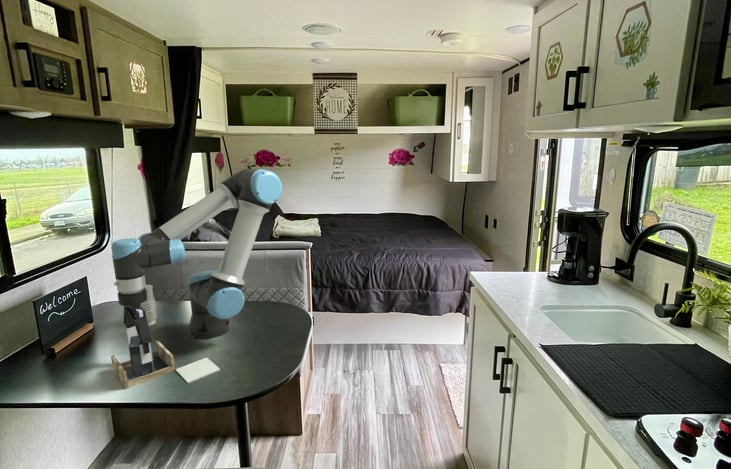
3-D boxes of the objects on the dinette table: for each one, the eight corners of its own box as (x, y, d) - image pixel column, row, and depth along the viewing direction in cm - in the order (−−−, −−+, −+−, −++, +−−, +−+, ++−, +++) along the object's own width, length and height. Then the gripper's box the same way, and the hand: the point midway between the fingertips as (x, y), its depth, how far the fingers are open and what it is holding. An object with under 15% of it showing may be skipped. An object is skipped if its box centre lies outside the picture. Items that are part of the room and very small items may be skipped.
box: (153, 374, 124) (149, 343, 122) (133, 378, 122) (128, 347, 120) (154, 362, 131) (150, 332, 129) (134, 366, 129) (130, 336, 127)
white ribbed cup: (161, 321, 161) (156, 286, 158) (144, 328, 156) (139, 292, 152) (151, 317, 165) (147, 283, 162) (134, 324, 159) (129, 288, 156)
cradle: (113, 370, 127) (110, 355, 126) (160, 353, 136) (158, 340, 135) (125, 388, 117) (123, 373, 116) (175, 369, 126) (173, 355, 125)
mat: (175, 370, 126) (175, 369, 126) (206, 358, 133) (206, 357, 133) (187, 383, 119) (187, 382, 119) (220, 370, 126) (220, 369, 126)
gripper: (107, 282, 127) (116, 344, 131) (129, 304, 109) (139, 374, 114) (133, 277, 132) (141, 336, 136) (159, 297, 114) (166, 364, 119)
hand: (140, 354), depth 125 cm, fingers open, 13 cm apart
